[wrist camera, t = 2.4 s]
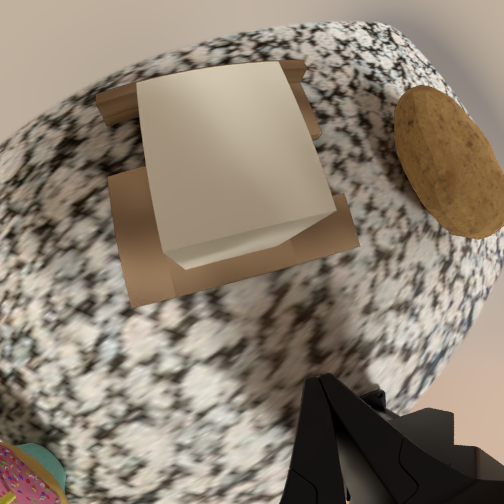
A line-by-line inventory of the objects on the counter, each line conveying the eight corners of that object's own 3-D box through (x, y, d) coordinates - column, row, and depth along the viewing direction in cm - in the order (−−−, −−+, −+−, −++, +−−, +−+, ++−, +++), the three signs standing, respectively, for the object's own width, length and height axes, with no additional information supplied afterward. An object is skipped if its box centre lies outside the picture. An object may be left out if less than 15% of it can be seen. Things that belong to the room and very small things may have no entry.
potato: (404, 104, 24) (448, 63, 16) (474, 215, 23) (529, 198, 16) (347, 134, 22) (397, 80, 14) (433, 269, 22) (503, 260, 14)
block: (277, 246, 19) (336, 210, 10) (185, 269, 17) (162, 252, 9) (248, 149, 19) (278, 61, 10) (163, 167, 18) (136, 82, 9)
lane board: (353, 248, 20) (375, 242, 17) (135, 307, 18) (122, 310, 15) (293, 81, 22) (302, 59, 19) (106, 115, 19) (95, 94, 16)
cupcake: (11, 407, 14) (-72, 456, 3) (91, 460, 15) (35, 551, 3) (10, 465, 13) (-46, 518, 1) (82, 510, 14) (45, 585, 2)
